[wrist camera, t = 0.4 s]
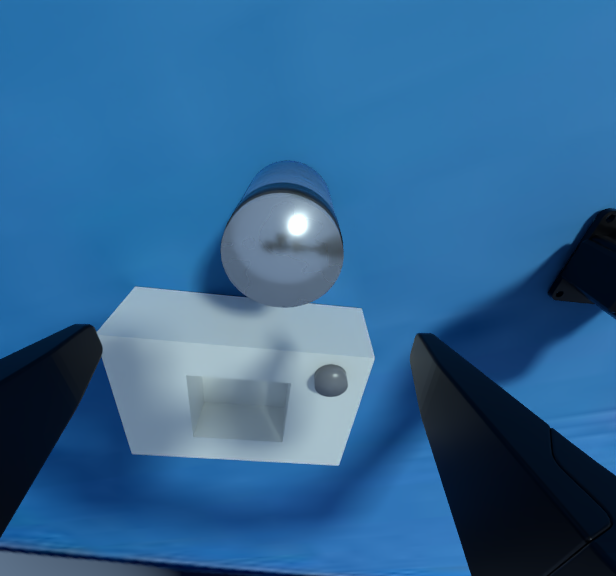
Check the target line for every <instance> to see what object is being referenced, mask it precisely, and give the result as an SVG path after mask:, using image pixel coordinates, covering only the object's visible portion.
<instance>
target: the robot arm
mask: <svg viewBox="0 0 616 576" xmlns="http://www.w3.org/2000/svg"><path fill="white" fill-rule="evenodd" d="M608 216H609V217H608ZM607 217H608V218H607ZM606 218H607V219H606ZM548 295H549V296H550V297H551V298H552V299H554V300H560V301H569V302H579V303H589V304H596V305H597V306H598V307H600V308H601V309H602V310H604V311H605V312H606V313H608V314H609V315H611V316H612V317H613V318H615V319H616V209H612V208H608V209H605V210H603V211H601V212H600V213H599V214H598V216H597V217H596V219H595V220H594V222H593V223H592V225H591V226H590V228H589V229H588V231H587V233H586V234H585V236H584V237H583V239H582V240H581V242H580V243H579V245H578V246H577V248H576V250H575V251H574V253H573V254H572V256H571V257H570V259H569V260H568V262H567V264H566V265H565V267H564V268H563V270H562V271H561V273H560V274H559V276H558V277H557V279H556V281H555V282H554V284H553V285H552V287H551V288H550V290H549V292H548ZM102 352H103V346H102V344H101V341H100V339H99V337H98V335H97V332H96V330H95V328H94V327H93V326H92V325H90V324H74V325H72V326H70V327H67V328H65V329H63V330H61V331H59V332H57V333H55V334H53V335H51V336H48V337H46V338H44V339H42V340H40V341H38V342H36V343H34V344H32V345H29V346H27V347H25V348H23V349H21V350H19V351H17V352H15V353H12V354H10V355H8V356H6V357H4V358H2V359H0V538H1V536H2V534H3V532H4V531H5V529H6V527H7V526H8V524H9V522H10V521H11V519H12V517H13V515H14V514H15V512H16V510H17V509H18V507H19V505H20V504H21V502H22V500H23V499H24V497H25V495H26V493H27V492H28V490H29V488H30V487H31V485H32V483H33V482H34V480H35V478H36V476H37V475H38V473H39V471H40V470H41V468H42V466H43V465H44V463H45V461H46V460H47V458H48V456H49V454H50V453H51V451H52V449H53V448H54V446H55V444H56V443H57V441H58V439H59V437H60V436H61V434H62V432H63V431H64V429H65V427H66V426H67V424H68V422H69V421H70V419H71V417H72V415H73V414H74V412H75V410H76V408H77V407H78V405H79V403H80V401H81V399H82V397H83V395H84V393H85V390H86V388H87V386H88V384H89V382H90V380H91V377H92V375H93V373H94V371H95V369H96V367H97V364H98V362H99V360H100V358H101V356H102ZM410 364H411V369H412V374H413V379H414V384H415V390H416V395H417V400H418V405H419V410H420V414H421V417H422V421H423V424H424V427H425V430H426V434H427V437H428V440H429V443H430V446H431V449H432V453H433V456H434V459H435V462H436V465H437V468H438V472H439V475H440V478H441V481H442V484H443V487H444V491H445V494H446V497H447V500H448V503H449V506H450V510H451V513H452V516H453V519H454V522H455V525H456V529H457V532H458V535H459V538H460V541H461V544H462V548H463V551H464V554H465V557H466V560H467V563H468V567H469V570H470V573H471V576H616V476H615V475H614V474H613V473H611V472H610V471H608V470H607V469H606V468H604V467H603V466H602V465H600V464H599V463H597V462H596V461H595V460H593V459H592V458H591V457H589V456H588V455H587V454H586V453H584V452H583V451H582V450H580V449H579V448H578V447H576V446H575V445H574V444H572V443H571V442H570V441H568V440H567V439H566V438H565V437H563V436H562V435H561V434H560V433H558V432H557V431H556V430H555V429H553V428H550V426H549V425H548V424H547V423H545V422H544V421H543V420H542V419H540V418H539V417H538V416H537V415H535V414H534V413H533V412H531V411H530V410H529V409H528V408H526V407H525V406H524V405H523V404H521V403H520V402H519V401H518V400H516V399H515V398H514V397H512V396H511V395H510V394H509V393H507V392H506V391H505V390H504V389H502V388H501V387H500V386H498V385H497V384H496V383H495V382H493V381H492V380H491V379H490V378H488V377H487V376H486V375H484V374H483V373H482V372H481V371H479V370H478V369H477V368H476V367H474V366H473V365H472V364H471V363H469V362H468V361H467V360H465V359H464V358H463V357H462V356H460V355H459V354H458V353H457V352H455V351H454V350H453V349H451V348H450V347H449V346H448V345H446V344H445V343H444V342H443V341H441V340H440V339H439V338H437V337H436V336H435V335H434V334H431V333H418V334H416V336H415V339H414V343H413V346H412V350H411V354H410Z"/></svg>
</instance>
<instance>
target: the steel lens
mask: <svg viewBox="0 0 616 576" xmlns="http://www.w3.org/2000/svg"><path fill="white" fill-rule="evenodd" d="M221 259H222V263H223V267H224V269H225V272H226V274H227V276H228V277H229V279H230V281H231V282H232V283H233V285H234V286H235V287H236V288H237V289H238V290H239V291H240V292H242V293H243V294H244V295H246V296H247V297H249V298H250V299H252V300H254V301H256V302H258V303H261V304H264V305H268V306H272V307H280V308H288V307H297V306H301V305H305V304H308V303H310V302H312V301H314V300H316V299H318V298H320V297H321V296H322V295H324V294H325V293H326V292H327V291H328V290H329V289H330V288H331V287H332V286H333V284H334V283H335V281H336V280H337V278H338V276H339V274H340V272H341V268H342V265H343V241H342V235H341V232H340V228H339V224H338V221H337V218H336V216H335V213H334V209H333V205H332V201H331V197H330V193H329V190H328V187H327V185H326V183H325V181H324V180H323V178H322V177H321V176H320V175H319V174H318V173H317V172H316V171H315V170H314V169H312V168H311V167H309V166H307V165H305V164H303V163H300V162H296V161H279V162H275V163H273V164H270V165H268V166H266V167H265V168H263V169H262V170H261V171H260V172H259V173H258V174H257V175H256V176H255V178H254V179H253V181H252V182H251V184H250V186H249V188H248V190H247V191H246V193H245V195H244V197H243V199H242V200H241V202H240V203H239V204H238V205H237V207H236V209H235V211H234V212H233V214H232V216H231V218H230V219H229V221H228V223H227V226H226V228H225V231H224V235H223V237H222V242H221Z"/></svg>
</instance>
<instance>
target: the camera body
mask: <svg viewBox="0 0 616 576" xmlns="http://www.w3.org/2000/svg"><path fill="white" fill-rule="evenodd" d="M97 335H98V337H99V339H100V341H101V344H102V346H103V352H102V360H103V363H104V366H105V369H106V372H107V376H108V379H109V382H110V385H111V388H112V392H113V395H114V398H115V401H116V405H117V408H118V411H119V414H120V417H121V421H122V424H123V427H124V430H125V433H126V437H127V440H128V443H129V446H130V449H131V453H132V454H139V455H157V456H175V457H193V458H211V459H229V460H247V461H265V462H283V463H301V464H319V465H337V466H339V463H340V461H341V458H342V455H343V452H344V449H345V446H346V443H347V440H348V437H349V434H350V431H351V428H352V425H353V422H354V419H355V416H356V413H357V410H358V407H359V404H360V401H361V398H362V395H363V392H364V389H365V386H366V383H367V380H368V377H369V374H370V371H371V368H372V365H373V362H374V359H375V357H374V353H373V349H372V346H371V342H370V338H369V334H368V331H367V327H366V323H365V319H364V316H363V312H362V309H361V308H351V307H340V306H330V305H320V304H309V303H308V304H305V305H301V306H297V307H288V308H280V307H272V306H268V305H264V304H261V303H258V302H256V301H254V300H252V299H250V298H248V297H237V296H227V295H217V294H206V293H196V292H186V291H175V290H165V289H155V288H144V287H135V288H134V289H133V290H132V291H131V292H130V294H129V295H128V296H127V297H126V298H125V299H124V301H123V302H122V303H121V304H120V305H119V307H118V308H117V309H116V310H115V311H114V312H113V314H112V315H111V316H110V317H109V318H108V319H107V321H106V322H105V323H104V324H103V325H102V327H101V328H100V329H99V330H98V331H97Z"/></svg>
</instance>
